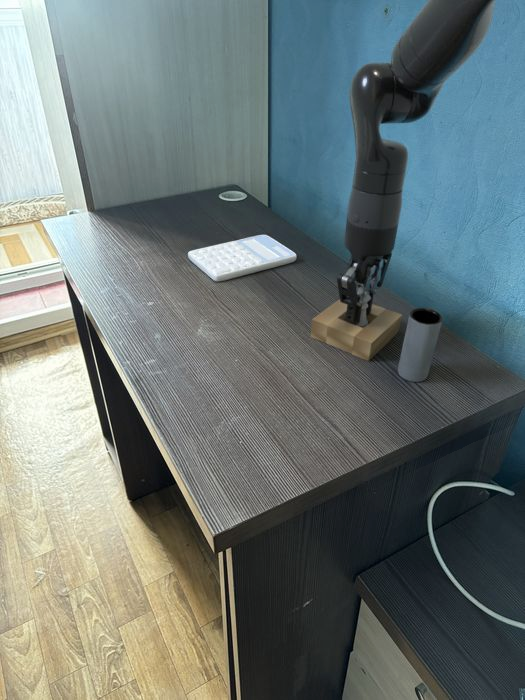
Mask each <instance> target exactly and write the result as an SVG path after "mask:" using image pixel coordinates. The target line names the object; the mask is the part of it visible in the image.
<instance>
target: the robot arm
mask: <svg viewBox="0 0 525 700" xmlns="http://www.w3.org/2000/svg"><path fill="white" fill-rule="evenodd" d="M495 3H496V0H427V2H426V4H424V5H423V7H422V8H421V10H420V11H419V12H418V14H417V15H416V16H415V17H414V19H413V20H412V21H411V22H410V24H409V25H408V26H407V28H406V29H405V30H404V31H403V33H402V34H401V36H400V37H399V39H398V40H397V41H396V43H395V45H394V47H393V49H392V53H391V57H390V62H369V63H365V64H363V65H362V66H361V67H360V68H359V69H357V71H356V72H355V74H354V76H353V78H352V80H351V83H350V87H349V96H348V99H349V108H350V113H351V119H352V120H351V121H352V125H353V133H354V134H353V136H354V146H355V148H354V149H355V162H354V170H353V178H352V186H351V191H350V194H349V197H348V198H349V199H348V205H347V214H346V223H345V229H344V230H345V231H344V239H343V245H344V248H346V249H347V250H348V251H349V253H350V258H349V261H348V265H347V269H348V270H347V271H346V273H345V274H344V273H339V274H338V275H337V278H336V283H337V288H338V290H337V291H338V296H339V299H340V302H342V303H344V304H347V312H346V321H347V322H349V323H351V324H354V325H357V324H358V323H359V322H360V315H361V308H362V302H363V298H364V294H365V292H367V291H368V292H369V295H370V297H371V299H370V300H369V301H368V302H367V304H368V307H367V308H366V316H367V315H369V314H370V313H371V308H372V304H373V301H374V296H375V295H376V294H377V292H378V288H381V287H382V286H383V284H384V281H385V280H384V279H385V276H386V273H387V271H388V269H389V266H390V265H389V264H390V262H391V258H392V255H393V253H392V252H393V251H394V249H395V246H396V241H397V234H398V228H399V222H400V218H401V211H402V205H403V191H404V190H403V189H404V183H405V178H406V173H407V167H408V161H409V151H408V148H407V147H406V146H405V145H404V144H403V143H401V142H398V141H395V140H390V139H385V138H383V137H382V135H381V132H380V129H381V128H380V127H381V125H386V124H387V125H388V124H389V125H390V124H410V123H414V122H417V121H419V120H421V119H423V118H424V117H425V116H427V115H428V114H429V113H430V111H431V110H432V108H433V106H434V103H435V101H436V99H437V98H438V96H439V94H440V92H441V90H442V88H443V85H444V84H445V82H446V81H447V80H448V79H449V78H451V76H453V75H454V73H455V72H457V71H458V70H459V69H460V68H461V67H462V66H463V65H464V64H465V63H466V62H467V61H468V60H469V59H470V58H471V57H472V56H473V55H474V54H475V53H476V51H477V50H478V49H479V47H480V46H481V44H482V43H483V41H484V40H485V38H486V35H487V34H488V31H489V29H490V26H491V23H492V19H493V14H494V8H495ZM357 291H358V292H359V294H358V297H357Z"/></svg>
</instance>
